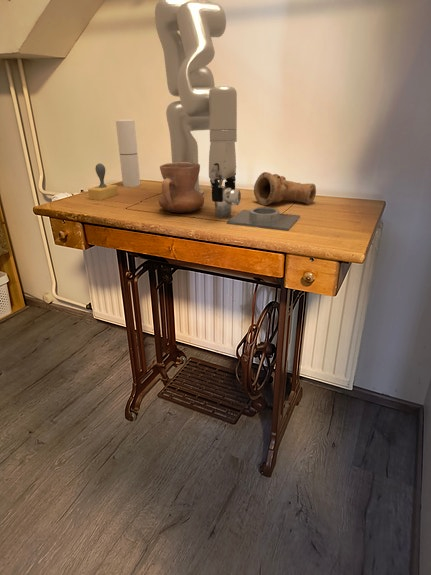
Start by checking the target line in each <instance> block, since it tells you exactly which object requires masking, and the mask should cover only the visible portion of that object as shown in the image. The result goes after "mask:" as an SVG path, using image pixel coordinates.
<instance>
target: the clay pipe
mask: <svg viewBox="0 0 431 575" xmlns="http://www.w3.org/2000/svg"><path fill="white" fill-rule="evenodd" d="M253 194H254V198H255V200H256V201H257V203H258V204H260V205H262V206H267V205H270V204H275V203H276V204H277V203H280V202H282V201H283V200H284V201H285V200H287V201H294V202H301V203H303V204H305V205H308V204H309V205H310V204H311V203H313V202H314V200H315V198H316V194H317V188H316V184H315V183H301V182H295V181H291V180H287V179H286V177H285V176H283V175H279V174H276V173H274V174H272V173H270V172H265V171H263V172H262V173H260V175H259V176H258V177H257V179H256V180H255V183H254V185H253Z"/></svg>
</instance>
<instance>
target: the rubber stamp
mask: <svg viewBox="0 0 431 575" xmlns="http://www.w3.org/2000/svg"><path fill="white" fill-rule="evenodd" d="M94 169H95V173H96V175H97V177H98V179H99V182H100V184H99V185H97V186H95V187H94V186H93V187H90V188H88V189H87V191H88V192H87V193H88V197H89V198H88V200H92V199H94V201H104V200H106V199H110V198H112V197H116V196H118V195H119V188H118V185H117V184H110V183H109V184H108V183H105V176H106V167H105V166H104V164H103V163H101V162H100V163H97V164H96V165H95V168H94Z"/></svg>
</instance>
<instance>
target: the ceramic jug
mask: <svg viewBox="0 0 431 575" xmlns="http://www.w3.org/2000/svg"><path fill="white" fill-rule="evenodd" d="M200 170H201V164H199V162H198V163H192V164H191V163H190V162H176V163H172V162H168V163H163V164H162V165H160V166H159V171H160V174H161V176H162V178H163V180H162V181H161V182H162V183H161V190H162V191H161V192H162V194H161V195H160V196H159V197H158V198H159V199H158V205H159V207H160V208H161V209H163V210H165V211H167V212H171V213H177V214H178V213H179V214H186V213H187V214H188V213H193V212H196V211H197V210H200V209H201V208H202V207H203V206H204V203H205V197H204V194H203V195H202V194H201V193H199V192H198V191H196V190H195V189H194V187H195V184H196V182H197V179H198V176H199V174H200ZM199 177H200V176H199Z"/></svg>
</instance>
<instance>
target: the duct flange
mask: <svg viewBox="0 0 431 575" xmlns="http://www.w3.org/2000/svg"><path fill="white" fill-rule="evenodd" d="M300 218H301V215H298V214H292V213H291V214H290V213H289V214H288V213H280V210H279V209H277V208H275V207H268V206H267V207H265V206H263V207H262V206H261V207H254V208H250V209H249V210H248V209H242V210H241V211H240V212H238V213H237V214H235V215H234V216H231V217H230V218H228V220H226V224H227V225H237V226H245V227H252V228H253V227H255V228H261V229H262V228H263V229H270V230H271V229H272V230H279V231H290V229H291V228H292V227H293V226H294V225H295V224H296V223H297V222H298V220H299V219H300Z"/></svg>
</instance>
